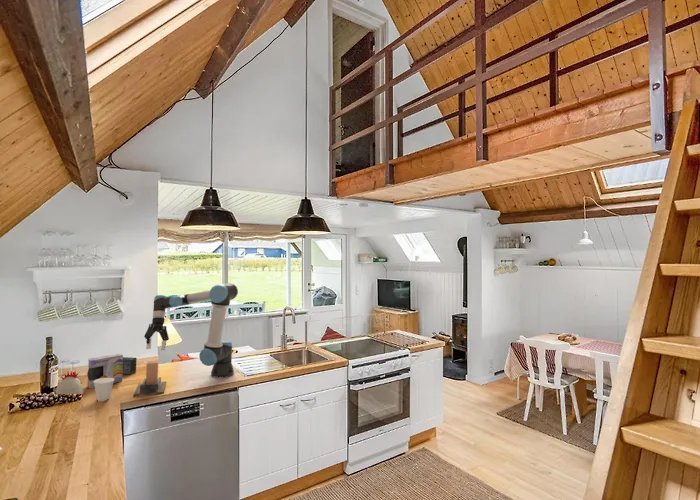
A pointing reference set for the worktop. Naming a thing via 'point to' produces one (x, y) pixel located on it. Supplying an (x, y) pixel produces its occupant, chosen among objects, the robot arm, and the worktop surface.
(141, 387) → the grey socket base
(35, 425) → the worktop surface
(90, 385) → the cake pan box
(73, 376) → the red-crested grey dome
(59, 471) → the worktop surface
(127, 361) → the small box
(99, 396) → the cup
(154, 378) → the block
